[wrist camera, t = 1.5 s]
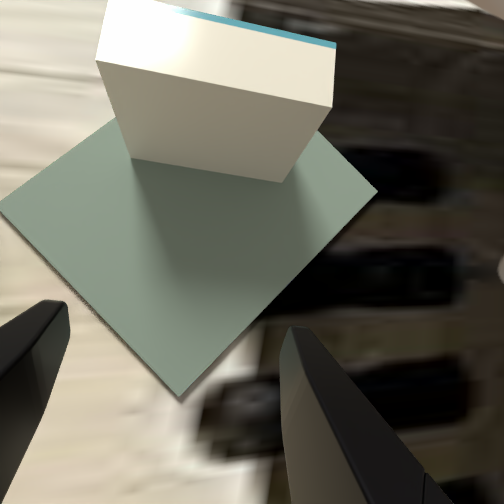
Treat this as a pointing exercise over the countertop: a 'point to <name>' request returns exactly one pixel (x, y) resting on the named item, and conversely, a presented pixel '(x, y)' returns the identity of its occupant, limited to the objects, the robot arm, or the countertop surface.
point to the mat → (181, 241)
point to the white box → (213, 88)
